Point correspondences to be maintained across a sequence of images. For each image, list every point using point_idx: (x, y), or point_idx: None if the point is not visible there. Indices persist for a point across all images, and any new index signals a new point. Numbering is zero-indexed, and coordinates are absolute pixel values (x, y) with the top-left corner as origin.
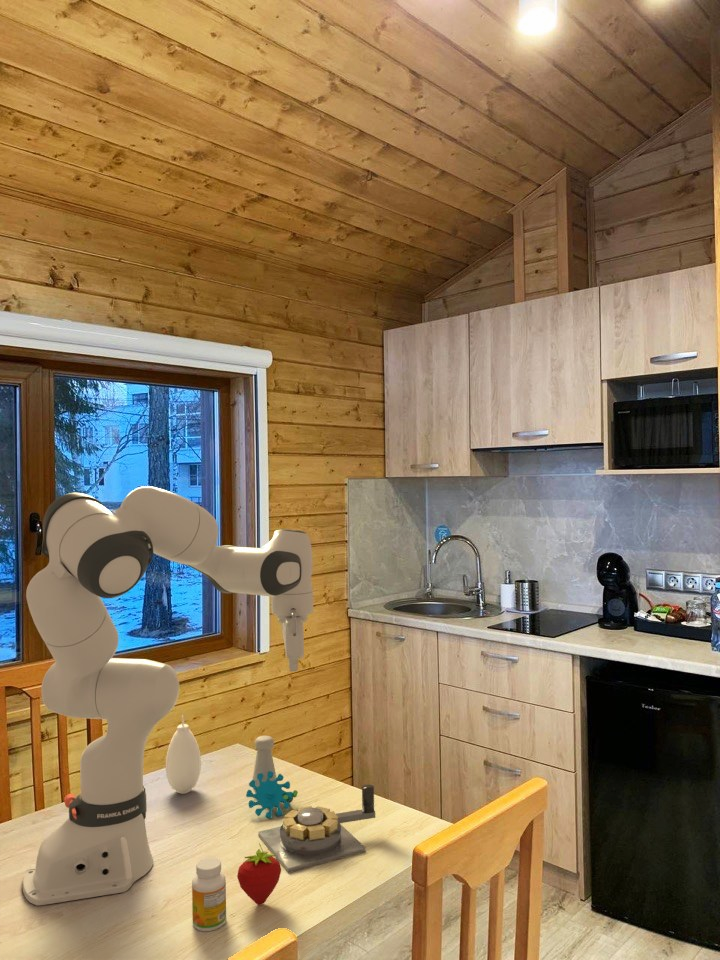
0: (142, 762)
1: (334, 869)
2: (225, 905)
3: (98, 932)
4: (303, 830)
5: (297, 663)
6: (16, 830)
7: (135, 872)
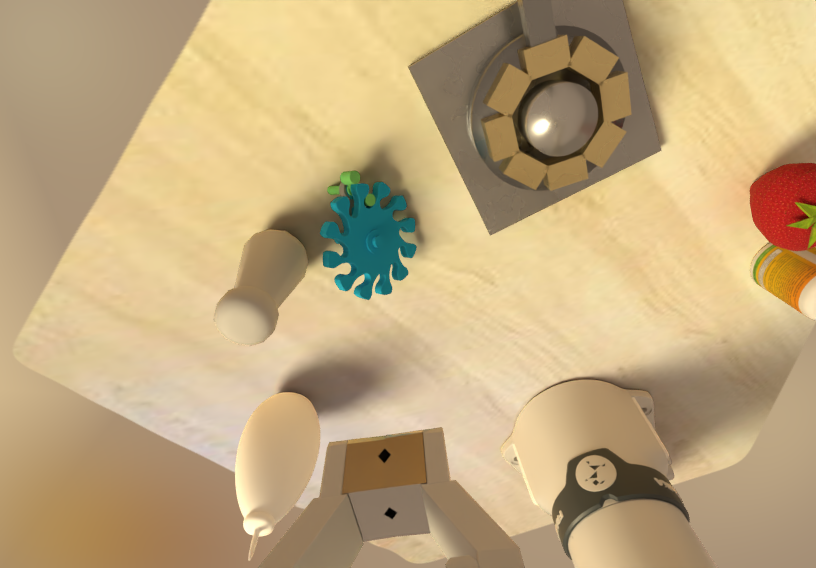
0: (675, 560)
1: (669, 38)
2: (811, 248)
3: (741, 392)
4: (623, 131)
5: (447, 476)
6: (441, 552)
7: (625, 397)
